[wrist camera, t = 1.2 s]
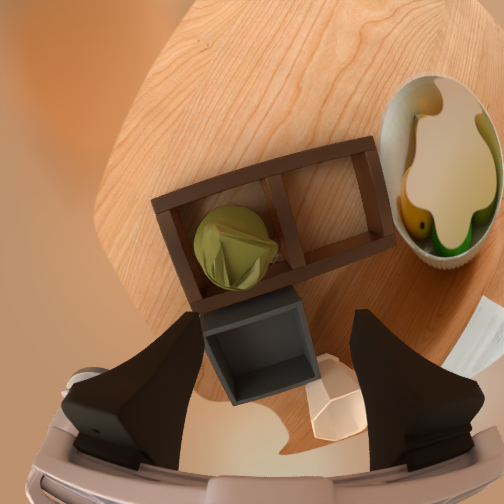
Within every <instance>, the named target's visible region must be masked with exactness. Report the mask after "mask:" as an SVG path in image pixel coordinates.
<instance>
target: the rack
mask: <svg viewBox="0 0 504 504" xmlns="http://www.w3.org/2000/svg"><path fill="white" fill-rule="evenodd" d="M348 155H351V158H352V162H353V166H354V169H355V173H356V177H357V181H358V185H359V189H360V193H361V197H362V202H363V206H364V210H365V215H366V220H367V225H368V230H369V232H366V233H363V234H360V235H358V236H355V237H352V238H349V239H346V240H343V241H340V242H338V243H335V244H332V245H329V246H326V247H323V248H320V249H317V250H314V251H311V252H308V253H305V254H303V250H302V247H301V243H300V239H299V236H298V232H297V228H296V225H295V221H294V218H293V214H292V211H291V207H290V204H289V200H288V197H287V194H286V190H285V187H284V183H283V180H282V177H281V174H280V173H284V172H287V171H291V170H294V169H298V168H302V167H305V166H309V165H313V164H317V163H320V162H324V161H328V160H332V159H336V158H340V157H344V156H348ZM257 180H261V183H262V186H263V189H264V193H265V196H266V199H267V202H268V206H269V209H270V212H271V216H272V219H273V222H274V226H275V229H276V232H277V236H278V239H279V243H280V246H281V249H282V253H283V256H284V260H285V261H282V262H279V263H276V264H273V265H270V266H268V269H267V272H266V273H265V275H264V277H263V278H262V279H261V280H260V281H259V282H258V283H257V284H256V285H255V286H253V287H252V288H250V289H247V290H227V289H224V288H221V287H219V286H217V285H216V284H212V285H209V286H206V287H204V284H203V281H202V278H201V276H200V273H199V270H198V268H197V265H196V262H195V260H194V257H193V254H192V252H191V249H190V246H189V243H188V240H187V238H186V235H185V232H184V229H183V226H182V224H181V221H180V218H179V215H178V212H177V209H176V207H178V206H181V205H184V204H187V203H189V202H192V201H195V200H198V199H201V198H204V197H207V196H210V195H213V194H216V193H219V192H222V191H225V190H228V189H231V188H234V187H237V186H241V185H244V184H247V183H250V182H253V181H257ZM151 203H152V206H153V209H154V212H155V214H156V218H157V221H158V224H159V227H160V230H161V232H162V235H163V238H164V241H165V243H166V246H167V249H168V251H169V254H170V257H171V259H172V262H173V264H174V267H175V270H176V272H177V275H178V277H179V280H180V282H181V285H182V287H183V290H184V292H185V295H186V297H187V299H188V302H189V304H190V306H191V309H192V311H193V312H199V315H200V314H203V313H206V312H209V311H213V310H216V309H219V308H222V307H225V306H229V305H232V304H235V303H238V302H241V301H244V300H247V299H250V298H253V297H256V296H259V295H262V294H265V293H268V292H271V291H274V290H277V289H280V288H283V287H286V286H289V285H292V284H295V283H298V282H301V281H303V280H306V279H309V278H312V277H315V276H317V275H320V274H323V273H326V272H329V271H331V270H334V269H337V268H340V267H342V266H345V265H348V264H350V263H353V262H356V261H358V260H361V259H364V258H366V257H369V256H371V255H374V254H377V253H379V252H382V251H384V250H387V249H389V248H392V247H394V246H397V243H396V237H395V230H394V225H393V219H392V214H391V208H390V203H389V198H388V194H387V189H386V185H385V180H384V176H383V172H382V168H381V164H380V160H379V156H378V153H377V149H376V146H375V142H374V139H373V136H367V137H362V138H357V139H353V140H348V141H343V142H339V143H335V144H330V145H326V146H322V147H318V148H314V149H310V150H306V151H302V152H298V153H294V154H290V155H286V156H283V157H279V158H275V159H272V160H268V161H265V162H261V163H258V164H255V165H251V166H248V167H245V168H241V169H238V170H235V171H232V172H228V173H225V174H222V175H219V176H216V177H213V178H210V179H207V180H204V181H201V182H198V183H195V184H192V185H190V186H187V187H184V188H181V189H178V190H176V191H173V192H170V193H167V194H165V195H162V196H159V197H157V198H154V199H152V200H151Z"/></svg>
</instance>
